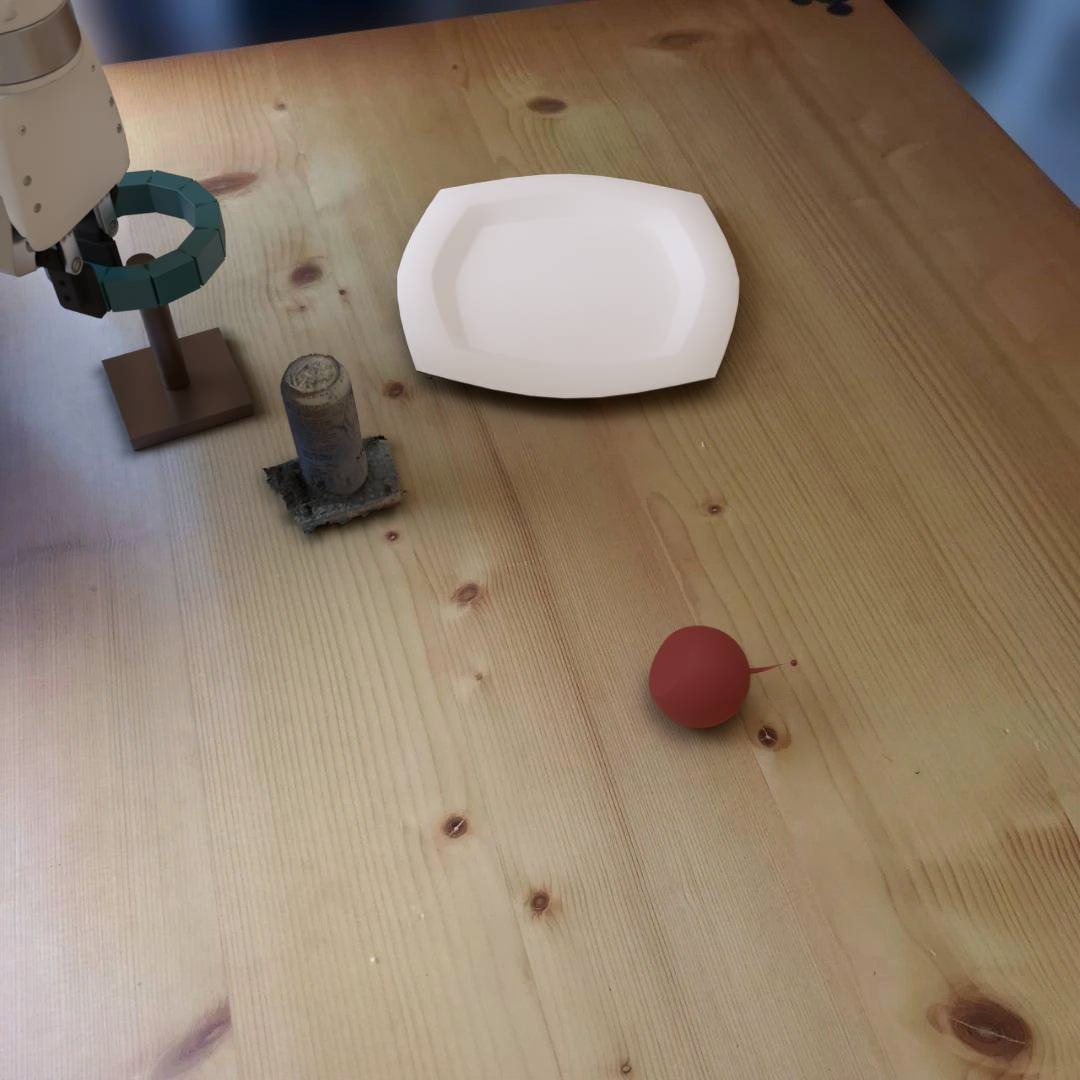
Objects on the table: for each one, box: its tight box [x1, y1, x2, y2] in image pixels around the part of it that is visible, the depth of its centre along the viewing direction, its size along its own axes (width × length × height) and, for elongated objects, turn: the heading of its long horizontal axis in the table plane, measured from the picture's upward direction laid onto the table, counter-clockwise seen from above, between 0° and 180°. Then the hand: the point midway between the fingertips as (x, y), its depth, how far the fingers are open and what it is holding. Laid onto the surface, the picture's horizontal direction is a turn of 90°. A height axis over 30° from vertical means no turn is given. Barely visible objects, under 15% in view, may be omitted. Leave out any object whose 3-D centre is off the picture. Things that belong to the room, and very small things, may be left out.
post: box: [101, 252, 256, 452], centre depth 92 cm, size 9×9×12 cm
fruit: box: [648, 624, 798, 729], centre depth 78 cm, size 6×6×8 cm
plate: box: [396, 173, 740, 400], centre depth 103 cm, size 27×27×2 cm
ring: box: [43, 169, 227, 313], centre depth 86 cm, size 12×12×2 cm
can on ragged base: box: [262, 352, 403, 535], centre depth 86 cm, size 9×8×12 cm
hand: (95, 297), depth 84 cm, fingers closed on ring, 1 cm apart
